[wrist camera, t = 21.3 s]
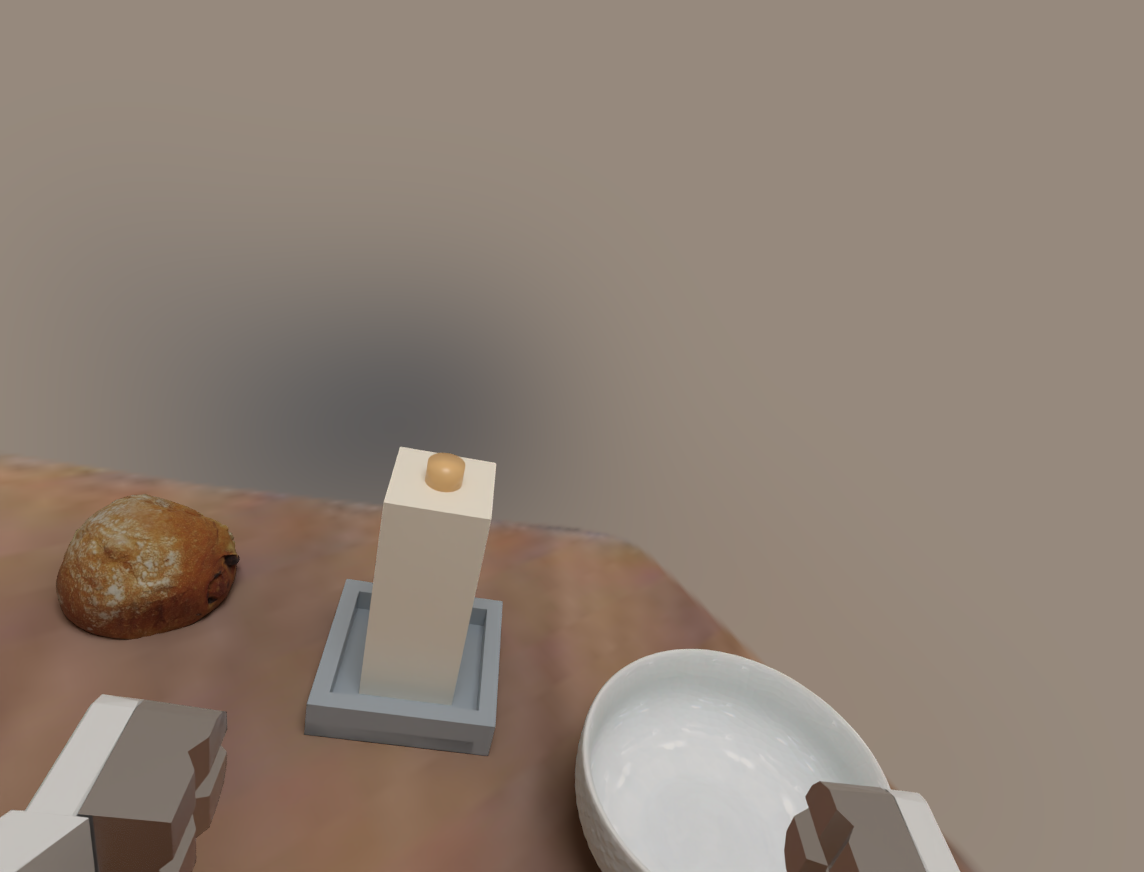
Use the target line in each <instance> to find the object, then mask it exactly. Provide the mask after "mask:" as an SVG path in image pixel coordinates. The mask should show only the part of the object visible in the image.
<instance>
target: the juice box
mask: <svg viewBox="0 0 1144 872" xmlns="http://www.w3.org/2000/svg"><path fill="white" fill-rule="evenodd" d="M495 472H496V463H493V462H486V461H481V460H475V459H469V458H463V457H458V456H456V455H453V454H449V453H434V452H427V451H422V450H416V449H410V448H404V447H400V449H399V453H398V456H397V459H396V463H395V466H394V469H393V473H392V476H391V480H390V483H389V486H388V490H387V493H386V496H385V500H384V504H383V512H382V520H381V527H380V535H379V543H378V550H377V558H376V565H375V573H374V581H373V588H372V596H371V604H370V611H369V619H368V627H367V634H366V642H365V650H364V657H363V665H362V673H361V680H360V688H359V694H364V695H372V696H380V697H388V698H396V699H404V700H411V701H419V702H427V703H435V704H443V705H452V701H453V696H454V691H455V687H456V682H457V677H458V673H459V668H460V663H461V659H462V654H463V649H464V645H465V640H466V635H467V631H468V626H469V621H470V616H471V612H472V607H473V602H474V598H475V593H476V588H477V584H478V579H479V574H480V570H481V565H482V560H483V556H484V551H485V546H486V542H487V537H488V532H489V528H490V523H491V517H492V505H493V494H494V483H495Z"/></svg>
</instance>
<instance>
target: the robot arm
mask: <svg viewBox="0 0 1144 872" xmlns="http://www.w3.org/2000/svg"><path fill="white" fill-rule="evenodd" d="M226 731H227V712H224V711H218V710H211V709H204V708H198V707H191V706H184V705H177V704H170V703H164V702H157V701H150V700H143V699H135V698H127V697H120V696H112V695H104V694H102V695H101V696H100V697H99V698H98V699H97V700H96V701H94V702H93V703H92V704H91V705H90V707H89V708H88V710H87V712H86V713H85V715H84V716H83V718H82V720H81V721H80V723H79V724H78V726H77V728H76V729H75V731H74V732H73V734H72V736H71V737H70V739H69V741H68V742H67V744H66V745H65V747H64V749H63V750H62V752H61V753H60V755H59V757H58V758H57V760H56V761H55V763H54V765H53V766H52V768H51V770H50V771H49V773H48V774H47V776H46V778H45V779H44V781H43V782H42V784H41V786H40V787H39V789H38V790H37V792H36V794H35V795H34V797H33V799H32V800H31V802H30V803H29V805H28V807H27V808H26V810H25V811H23V810H10V811H9V812H7V813H6V814H4V815H3V816H1V817H0V872H192V871H193V868H194V866H195V863H196V838H197V837H198V836H199V835H201V834H202V833H203V832H204V831H206V830H207V829H208V828H209V827H210V824H211V822H212V819H213V816H214V814H215V811H216V808H217V805H218V802H219V798H220V795H221V791H222V787H223V784H224V778H225V772H226V765H227V752H226V751H225V750H224V749H223V747H222V746H221V743H222V741H223V738H224V736H225V733H226ZM805 798H806V801H807V804H808V807H809V808H808V809H806V810H804V811H802V812H800V813H799V814H797V815H795V816H794V817H793V819H792V821H791V823H790V825H789V827H788V829H787V831H786V838H785V847H784V855H785V865H786V870H787V872H960V871H959V868H958V866H957V864H956V862H955V860H954V858H953V856H952V854H951V852H950V849H949V847H948V845H947V843H946V841H945V839H944V837H943V835H942V833H941V831H940V828H939V826H938V824H937V822H936V820H935V818H934V816H933V814H932V812H931V810H930V807H929V805H928V803H927V802H926V800H925V799H924V798H923V797H922V796H921V795H920V794H919V793H915V792H908V791H899V790H890V789H882V788H880V787H871V786H862V785H852V784H843V783H833V782H823V781H819V782H817V783H815V784H813V785H812V786H811V788H810V789H809V791H808V793H807V794H806V796H805Z"/></svg>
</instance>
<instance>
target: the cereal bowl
mask: <svg viewBox="0 0 1144 872" xmlns="http://www.w3.org/2000/svg"><path fill="white" fill-rule="evenodd" d="M819 781H823V782H833V783H843V784H852V785H862V786H871V787H880V788H882V789H890V786H889V784H888V781H887V779H886V777H885V775H884V773H883V771H882V769H881V767H880V766H879V764H878V762H877V760H876V758H875V757H874V755H873V754H872V752H871V751H870V749H869V748H868V747H867V745H866V744H865V742H864V741H863V740H862V739H861V737H860V736H859V735H858V734H857V732H856V731H855V730H854V729H853V728H852V727H851V726H850V725H849V724H848V723H847V722H846V721H845V720H844V719H843V718H842V716H841V715H839V713H837V712H836V711H835V710H834V709H833V708H832V707H831V706H829V705H828V704H827V703H826V702H825V701H823V700H822V699H821V698H820V697H818V696H817V695H816V694H814V693H813V692H811V691H810V690H808V689H807V688H806V687H804V686H803V685H801V684H800V683H798V682H797V681H795V680H793V679H792V678H790V677H788V676H787V675H785V674H783V673H781V672H779V671H777V670H775V669H773V668H771V667H768V666H766V665H763V664H761V663H758V662H755V661H753V660H750V659H747V658H744V657H740V656H737V655H733V654H728V653H724V652H719V651H712V650H704V649H678V650H669V651H664V652H659V653H656V654H652V655H649V656H646V657H643V658H641V659H639V660H636V661H634V662H632V663H631V664H629V665H627V666H625V667H624V668H622V669H621V670H619V671H618V672H617V673H616V674H615V675H613V676H612V677H611V678H610V679H609V680H608V681H607V682H606V683H605V685H604V686H603V687H602V688H601V690H600V691H599V693H598V694H597V696H596V697H595V699H594V701H593V703H592V705H591V707H590V709H589V712H588V714H587V717H586V719H585V723H584V727H583V730H582V732H581V738H580V741H579V744H578V753H577V757H576V767H575V792H576V804H577V808H578V812H579V818H580V822H581V825H582V829H583V833H584V836H585V838H586V840H587V842H588V847H589V849H590V850H591V853H592V854H593V856H594V859H595V860H596V863H597V865H598V866H599V868H600V869H601V871H602V872H787V870H786V865H785V855H784V847H785V838H786V831H787V829H788V827H789V825H790V823H791V821H792V819H793V817H794V816H795V815H797V814H799V813H800V812H802V811H804V810H806V809H808V808H809V807H808V804H807V801H806V798H805V796H806V794H807V793H808V791H809V789H810V788H811V786H812V785H813V784H815V783H817V782H819ZM890 790H891V789H890Z"/></svg>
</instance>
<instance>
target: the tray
mask: <svg viewBox="0 0 1144 872" xmlns="http://www.w3.org/2000/svg"><path fill="white" fill-rule="evenodd" d="M372 588H373V583H371V582H364V581H358V580H351V579H347V580H346V583H345V586H344V589H343V592H342V595H341V598H340V602H339V605H338V608H337V611H336V614H335V617H334V620H333V623H332V627H331V630H330V633H329V636H328V639H327V642H326V645H325V649H324V652H323V655H322V658H321V661H320V664H319V667H318V671H317V674H316V677H315V680H314V683H313V686H312V689H311V693H310V696H309V699H308V702H307V708H306V720H305V732H304V734H306V735H315V736H323V737H332V738H340V739H349V740H357V741H366V742H374V743H383V744H391V745H400V746H409V747H417V748H426V749H434V750H443V751H451V752H460V753H468V754H477V755H485V756H488V753H489V750H490V746H491V742H492V738H493V734H494V730H495V723H496V706H497V689H498V672H499V654H500V637H501V620H502V601H495V600H489V599H482V598H474V602H473V607H472V612H471V616H470V621H469V626H468V631H467V635H466V640H465V645H464V649H463V654H462V659H461V663H460V668H459V673H458V677H457V682H456V687H455V691H454V696H453V701H452V705H443V704H435V703H427V702H419V701H411V700H404V699H396V698H388V697H380V696H372V695H364V694H359V688H360V680H361V673H362V665H363V657H364V650H365V642H366V634H367V627H368V619H369V611H370V604H371V596H372Z"/></svg>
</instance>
